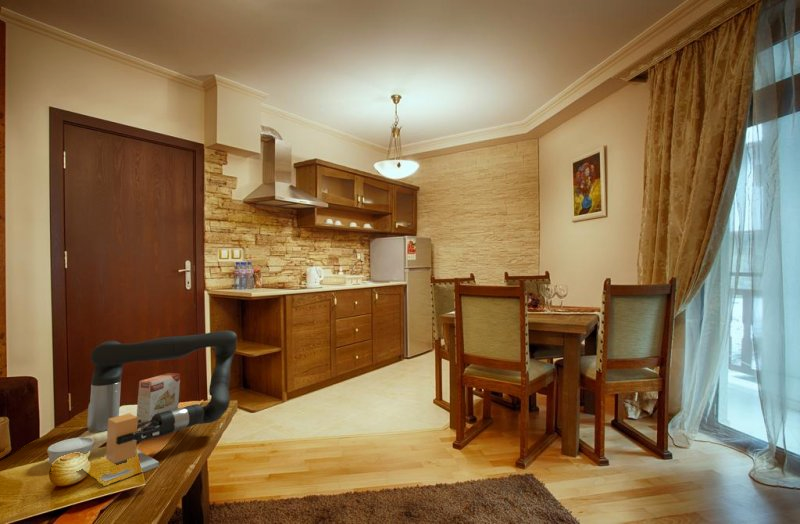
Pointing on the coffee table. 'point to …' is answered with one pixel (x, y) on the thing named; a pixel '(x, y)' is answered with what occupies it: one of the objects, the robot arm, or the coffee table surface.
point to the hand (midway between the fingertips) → (112, 438)
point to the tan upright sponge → (119, 428)
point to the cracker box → (157, 395)
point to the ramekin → (70, 447)
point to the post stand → (145, 463)
